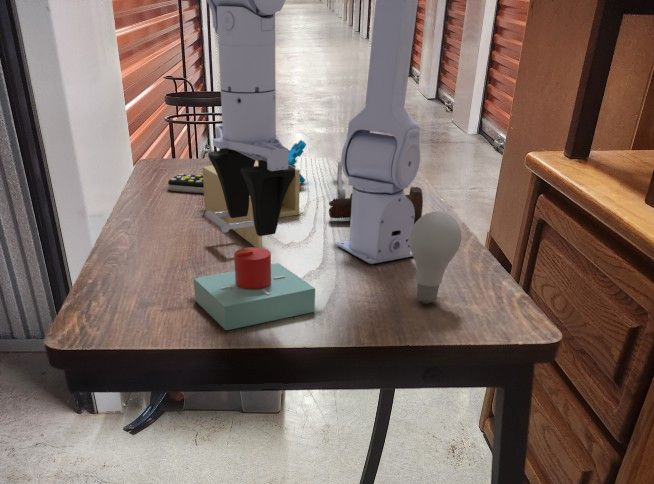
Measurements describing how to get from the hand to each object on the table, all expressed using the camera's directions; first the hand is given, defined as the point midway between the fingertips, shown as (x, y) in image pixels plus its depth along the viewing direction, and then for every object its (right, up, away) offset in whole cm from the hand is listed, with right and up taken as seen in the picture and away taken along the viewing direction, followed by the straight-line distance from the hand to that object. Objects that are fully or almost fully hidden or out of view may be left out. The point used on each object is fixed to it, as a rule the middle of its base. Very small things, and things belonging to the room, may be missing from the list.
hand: (251, 225), depth 77 cm
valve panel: (0, -8, +6) cm, 10 cm away
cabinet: (-2, +18, +38) cm, 42 cm away
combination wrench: (+15, +26, +48) cm, 56 cm away
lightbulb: (+22, -7, +7) cm, 24 cm away
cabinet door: (-5, +8, +26) cm, 28 cm away
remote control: (-11, +27, +50) cm, 58 cm away
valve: (0, -5, +4) cm, 7 cm away
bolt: (+19, +15, +34) cm, 41 cm away
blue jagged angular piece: (+5, +30, +53) cm, 61 cm away
